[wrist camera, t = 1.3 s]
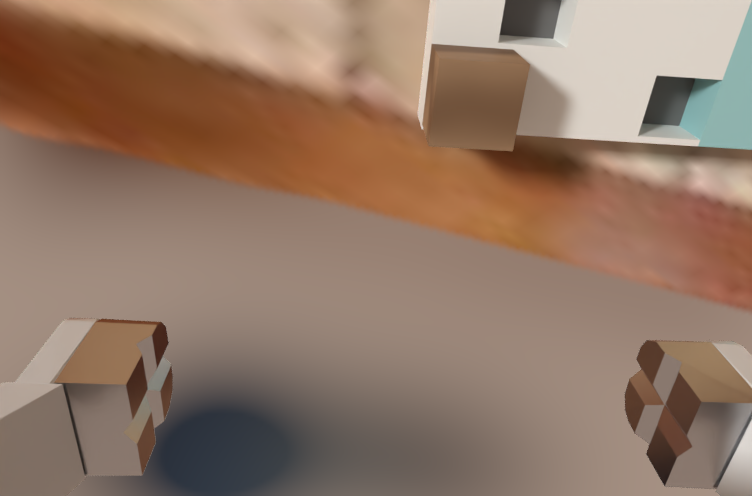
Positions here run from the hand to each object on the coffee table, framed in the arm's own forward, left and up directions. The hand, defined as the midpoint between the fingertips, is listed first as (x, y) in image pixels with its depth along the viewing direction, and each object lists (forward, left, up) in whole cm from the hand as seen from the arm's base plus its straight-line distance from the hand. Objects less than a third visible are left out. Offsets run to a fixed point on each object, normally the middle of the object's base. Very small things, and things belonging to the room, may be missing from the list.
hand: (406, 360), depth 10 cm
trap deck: (-1, +12, -24) cm, 26 cm away
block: (+1, +5, -21) cm, 22 cm away
